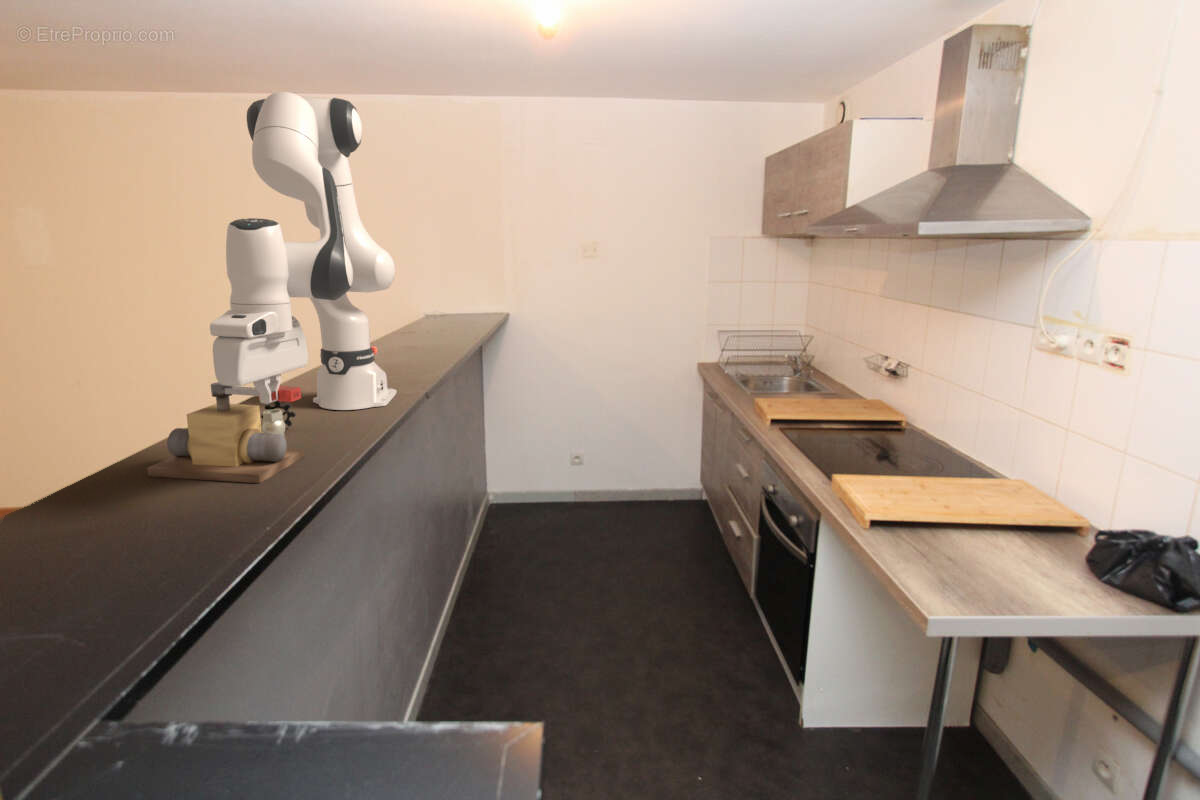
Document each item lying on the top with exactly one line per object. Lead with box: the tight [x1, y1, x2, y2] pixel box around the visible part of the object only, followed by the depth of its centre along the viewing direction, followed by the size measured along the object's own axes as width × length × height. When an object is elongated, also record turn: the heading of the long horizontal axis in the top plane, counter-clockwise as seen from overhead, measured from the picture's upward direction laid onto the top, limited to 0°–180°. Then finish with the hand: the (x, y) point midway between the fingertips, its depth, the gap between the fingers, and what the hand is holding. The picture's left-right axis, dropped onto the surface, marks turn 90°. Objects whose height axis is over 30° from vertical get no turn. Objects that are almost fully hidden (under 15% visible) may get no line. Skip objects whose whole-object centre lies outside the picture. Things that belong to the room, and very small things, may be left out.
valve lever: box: [210, 381, 302, 403], centre depth 111 cm, size 16×3×2 cm, turn 82°
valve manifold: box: [146, 396, 305, 484], centre depth 114 cm, size 14×20×13 cm
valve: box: [260, 401, 297, 437], centre depth 132 cm, size 7×7×12 cm
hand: (269, 402), depth 108 cm, fingers closed
